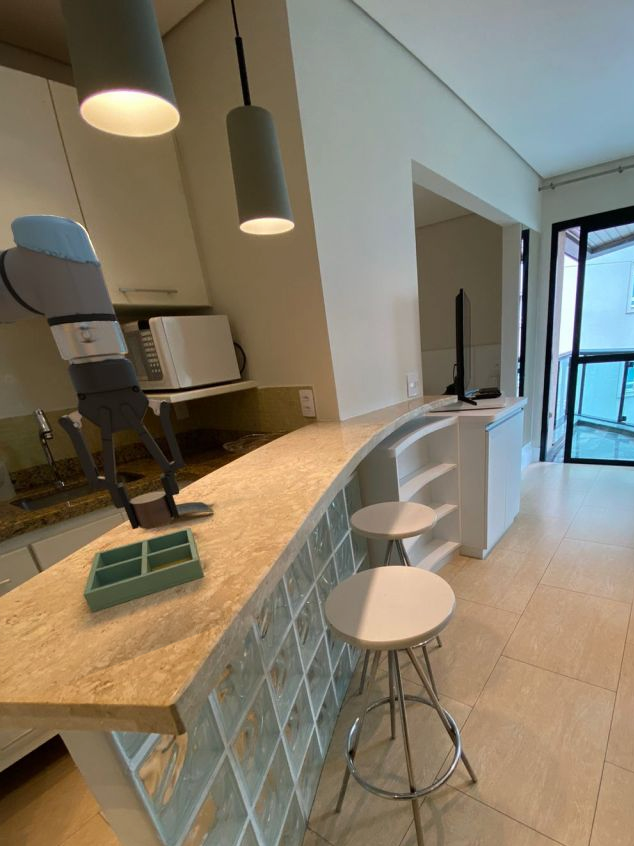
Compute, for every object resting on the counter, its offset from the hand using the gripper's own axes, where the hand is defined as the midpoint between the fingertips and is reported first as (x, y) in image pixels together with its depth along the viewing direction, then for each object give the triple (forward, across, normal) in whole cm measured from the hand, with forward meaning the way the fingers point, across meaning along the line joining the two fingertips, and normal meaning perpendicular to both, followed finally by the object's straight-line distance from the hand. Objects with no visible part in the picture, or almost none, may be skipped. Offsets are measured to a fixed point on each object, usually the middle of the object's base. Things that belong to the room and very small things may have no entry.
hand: (156, 519), depth 63 cm
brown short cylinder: (0, 0, 0) cm, 0 cm away
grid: (+10, -4, +4) cm, 11 cm away
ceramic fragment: (+10, +2, +26) cm, 28 cm away
